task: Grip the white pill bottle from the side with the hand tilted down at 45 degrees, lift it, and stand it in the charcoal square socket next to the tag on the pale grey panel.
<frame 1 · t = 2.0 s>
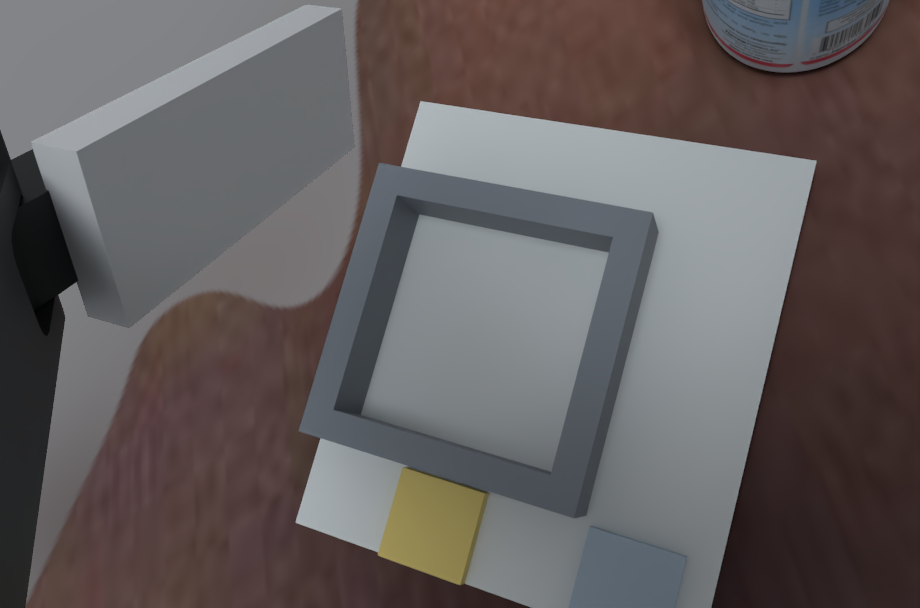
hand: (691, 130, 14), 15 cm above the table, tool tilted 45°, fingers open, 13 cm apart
panel: (547, 354, 29), on the table
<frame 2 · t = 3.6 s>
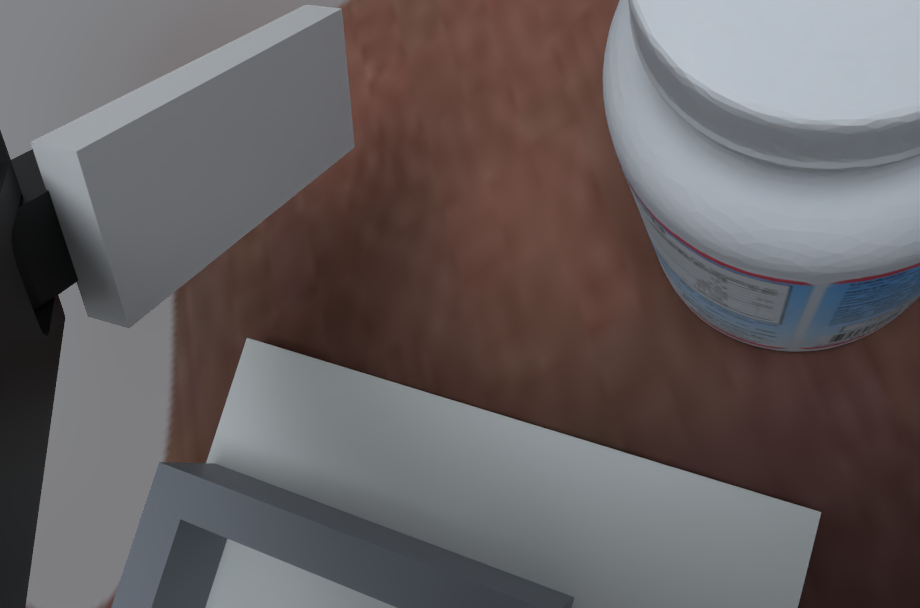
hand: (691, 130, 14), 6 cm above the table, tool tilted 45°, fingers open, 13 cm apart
pill bottle: (787, 224, 19), on the table
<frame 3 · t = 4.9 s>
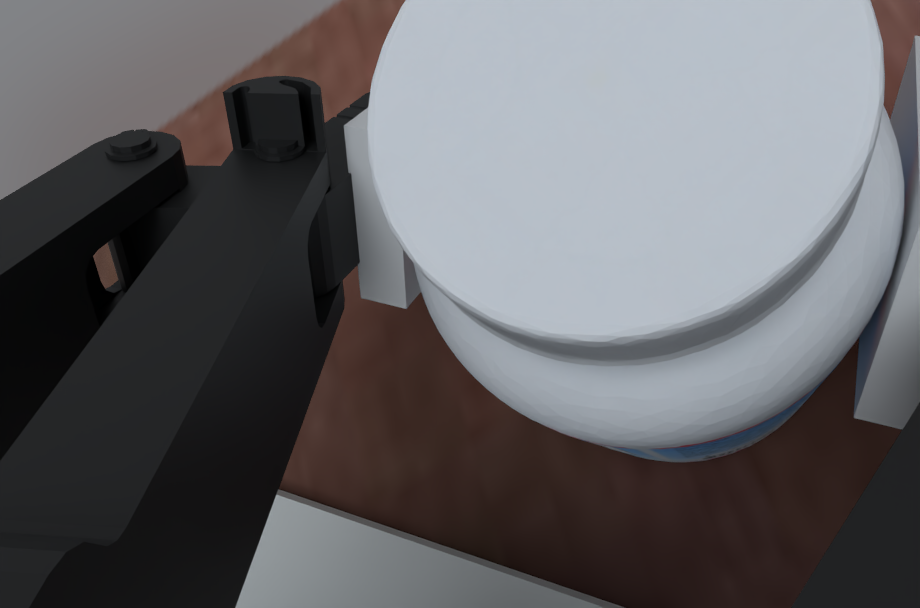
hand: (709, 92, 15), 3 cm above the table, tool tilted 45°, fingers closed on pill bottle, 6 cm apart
pill bottle: (673, 320, 18), on the table, touching gripper
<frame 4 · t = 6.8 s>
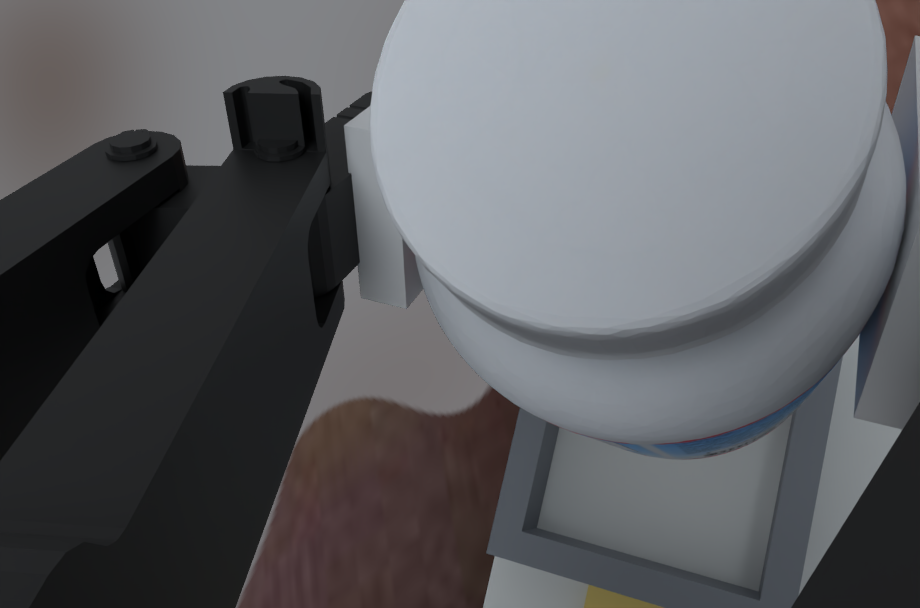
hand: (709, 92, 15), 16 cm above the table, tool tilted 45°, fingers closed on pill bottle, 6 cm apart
panel: (725, 463, 29), on the table
pill bottle: (674, 318, 18), point 12 cm above the table, touching gripper
when the fingers open (6 cm above the table, at t = 9.1 s): pill bottle drops 2 cm, resting on panel.
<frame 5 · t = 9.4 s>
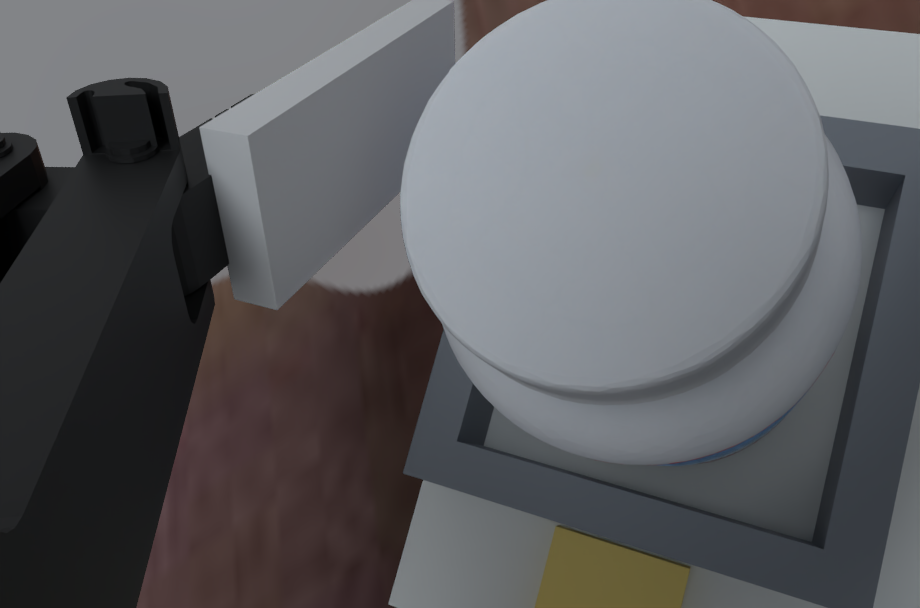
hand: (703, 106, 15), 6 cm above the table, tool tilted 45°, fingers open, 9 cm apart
panel: (764, 357, 20), on the table
pill bottle: (671, 333, 20), point 1 cm above the table, touching panel
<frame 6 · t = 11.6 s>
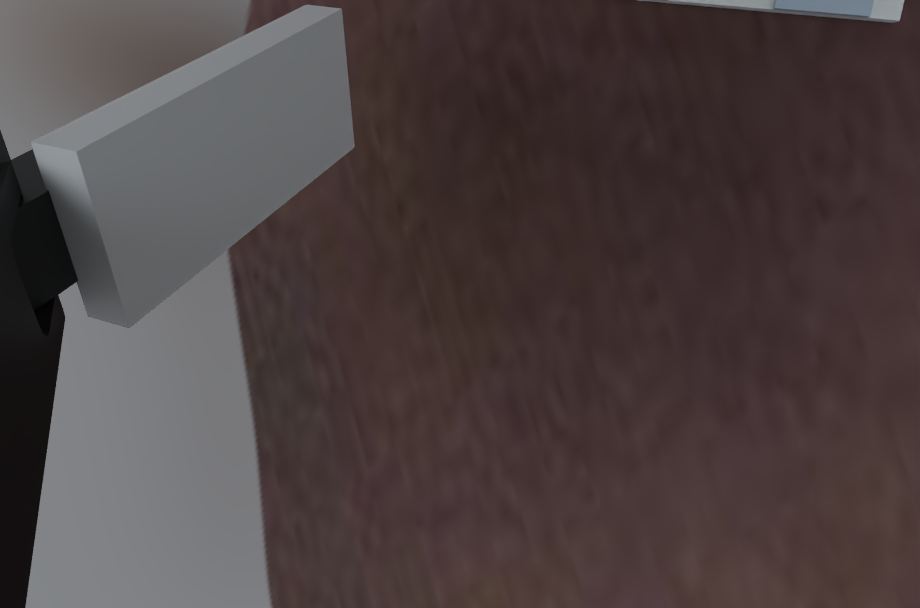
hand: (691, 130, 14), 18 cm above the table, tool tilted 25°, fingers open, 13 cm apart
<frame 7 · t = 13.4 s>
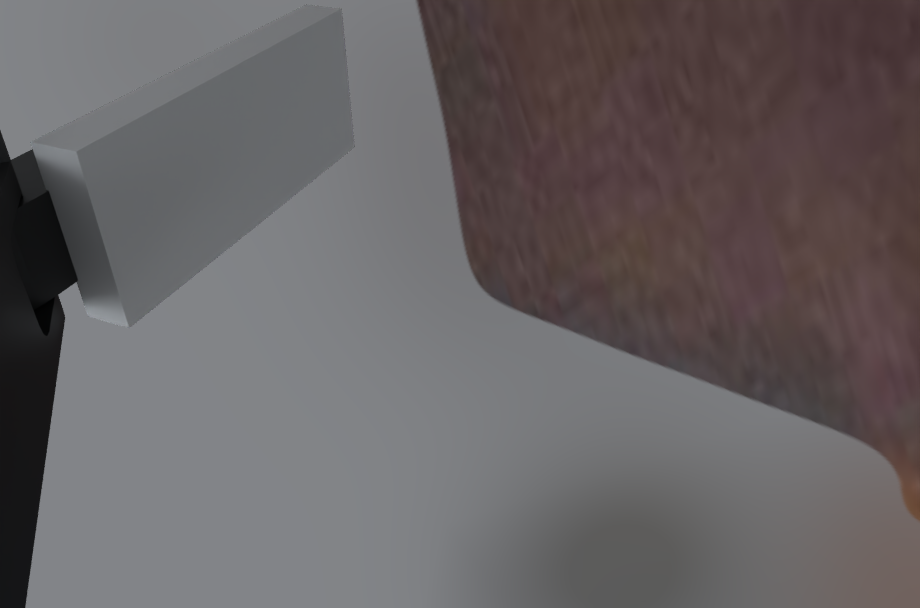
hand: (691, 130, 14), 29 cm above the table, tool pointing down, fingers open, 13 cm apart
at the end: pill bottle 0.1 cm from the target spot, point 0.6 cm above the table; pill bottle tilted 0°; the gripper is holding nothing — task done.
